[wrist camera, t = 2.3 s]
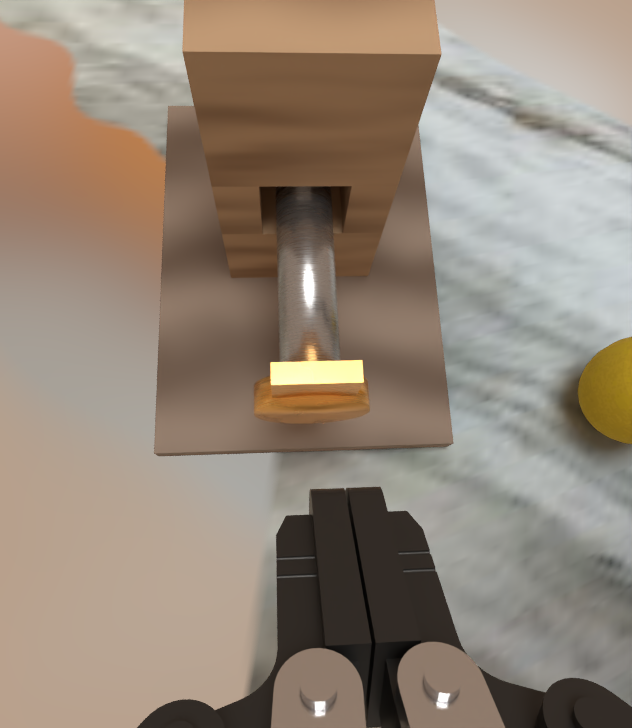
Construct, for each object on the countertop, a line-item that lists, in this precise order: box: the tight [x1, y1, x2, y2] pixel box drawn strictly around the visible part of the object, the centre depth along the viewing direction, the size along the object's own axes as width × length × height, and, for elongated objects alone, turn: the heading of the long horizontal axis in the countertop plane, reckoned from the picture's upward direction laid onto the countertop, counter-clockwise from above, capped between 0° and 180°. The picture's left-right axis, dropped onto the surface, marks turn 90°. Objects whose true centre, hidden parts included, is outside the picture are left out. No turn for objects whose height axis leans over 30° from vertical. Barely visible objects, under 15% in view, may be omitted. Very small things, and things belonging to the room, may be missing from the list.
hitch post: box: [154, 0, 453, 456], centre depth 26 cm, size 22×16×17 cm
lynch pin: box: [254, 186, 370, 424], centre depth 24 cm, size 12×5×7 cm, turn 2°
